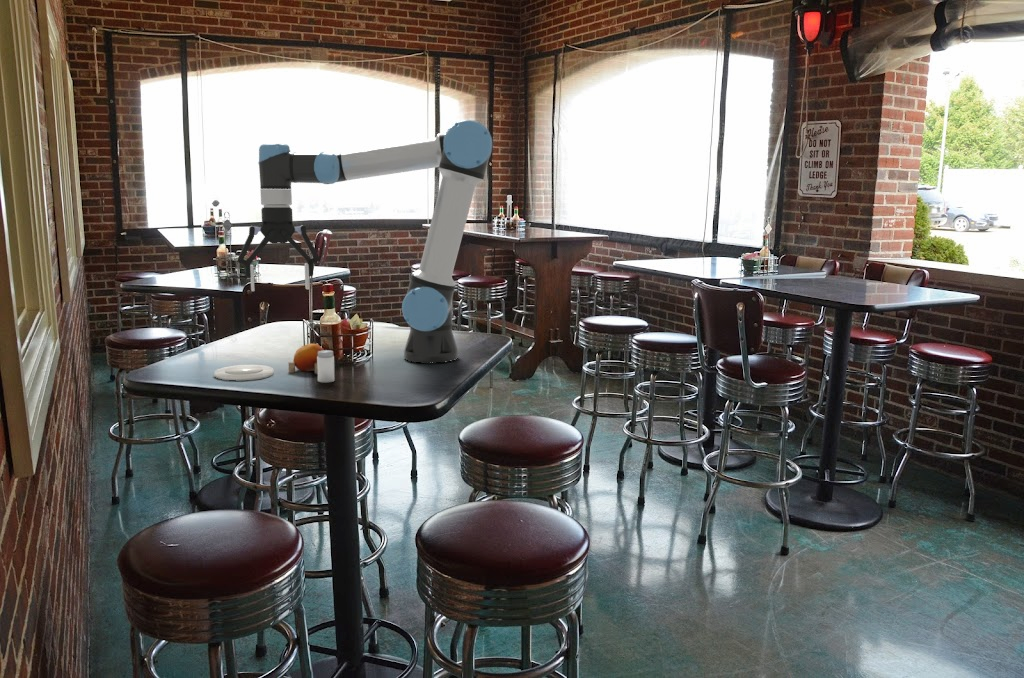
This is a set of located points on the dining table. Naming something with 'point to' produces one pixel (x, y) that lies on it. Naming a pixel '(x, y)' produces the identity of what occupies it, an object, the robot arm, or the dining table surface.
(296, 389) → the dining table surface
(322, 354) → the salt shaker
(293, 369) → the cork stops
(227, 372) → the saucer
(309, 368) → the fruit
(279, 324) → the dining table surface
